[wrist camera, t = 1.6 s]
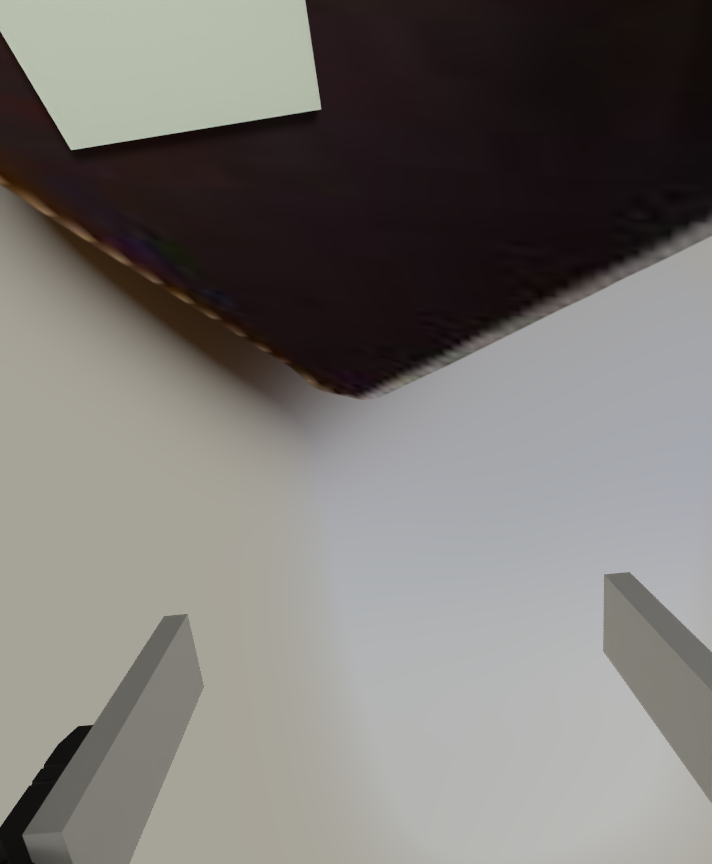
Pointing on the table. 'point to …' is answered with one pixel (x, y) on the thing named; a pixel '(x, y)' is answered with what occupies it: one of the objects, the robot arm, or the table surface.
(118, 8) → the sage pad
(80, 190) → the table surface
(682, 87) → the table surface
